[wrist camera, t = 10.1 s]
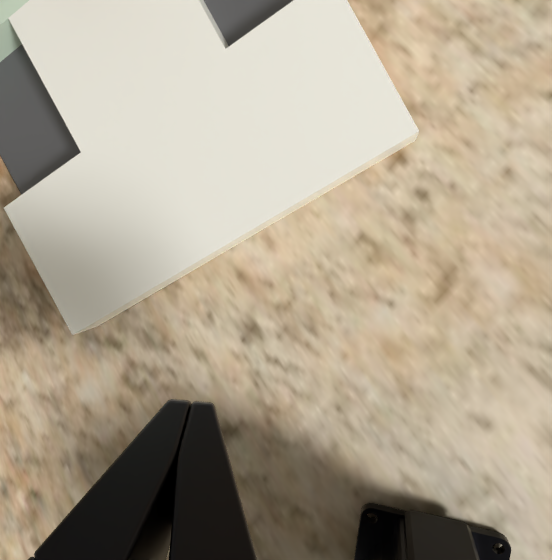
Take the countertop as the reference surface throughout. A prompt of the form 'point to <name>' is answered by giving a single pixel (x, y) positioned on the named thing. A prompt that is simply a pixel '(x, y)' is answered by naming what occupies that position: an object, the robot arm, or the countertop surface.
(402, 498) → the countertop surface
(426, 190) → the countertop surface
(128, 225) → the box
